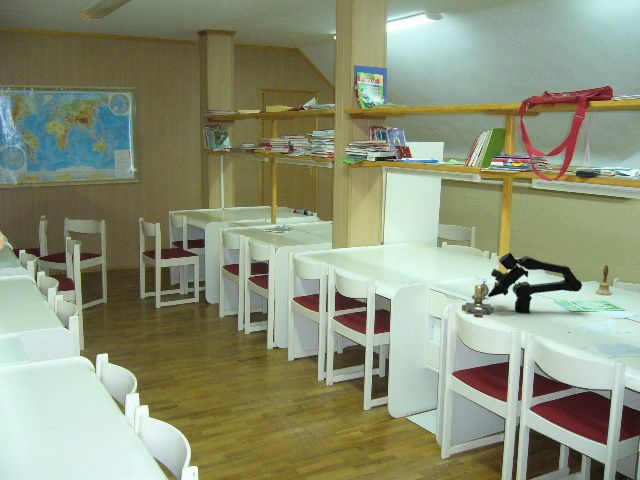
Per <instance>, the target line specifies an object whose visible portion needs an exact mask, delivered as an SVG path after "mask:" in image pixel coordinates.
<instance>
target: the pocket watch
mask: <svg viewBox="0 0 640 480" xmlns="http://www.w3.org/2000/svg"><path fill="white" fill-rule="evenodd" d="M482 282H483V283H481V284H480V285H481V286H483V298H484V299H485V297H488V294H489V293H490V289H489V287H488V285H487V284H486V279H485V278H484V279H483V281H482ZM474 297H475V294H473V295H471V298H472V299H474Z"/></svg>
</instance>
